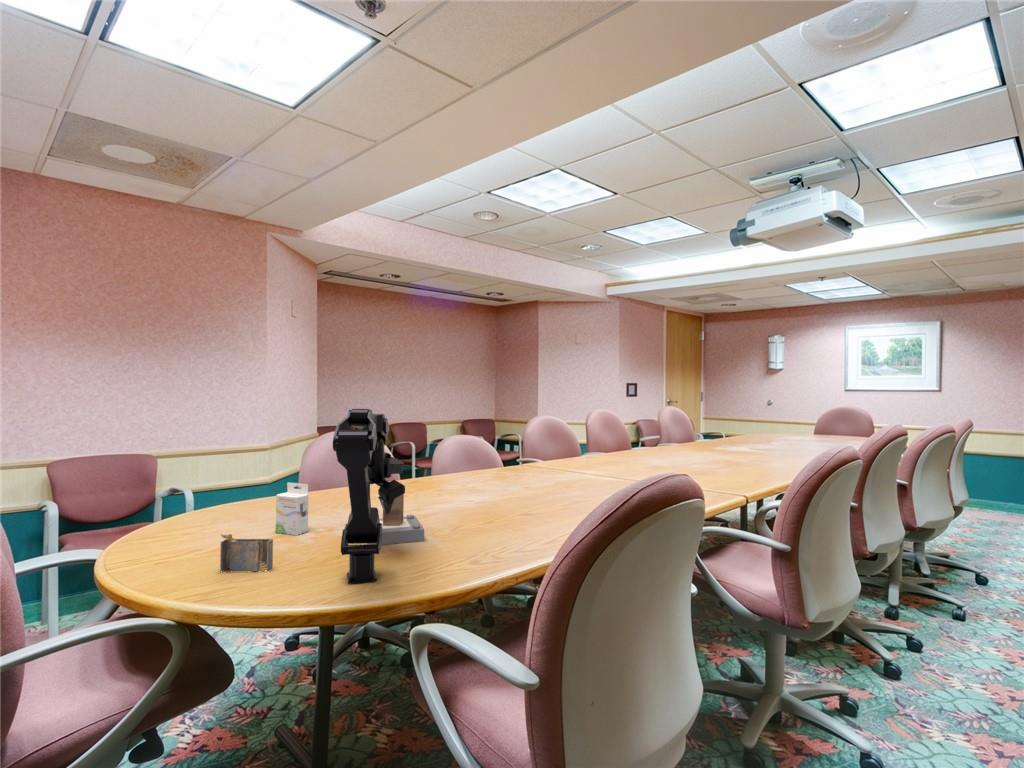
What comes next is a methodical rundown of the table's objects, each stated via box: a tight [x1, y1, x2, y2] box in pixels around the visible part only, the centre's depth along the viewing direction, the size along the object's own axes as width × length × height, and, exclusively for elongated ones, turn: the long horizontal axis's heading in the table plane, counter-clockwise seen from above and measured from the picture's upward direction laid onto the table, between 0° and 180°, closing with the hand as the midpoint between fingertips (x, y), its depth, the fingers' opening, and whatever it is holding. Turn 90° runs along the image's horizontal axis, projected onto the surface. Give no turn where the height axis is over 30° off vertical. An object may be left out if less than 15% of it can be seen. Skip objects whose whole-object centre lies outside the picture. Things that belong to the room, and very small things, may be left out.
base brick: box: [366, 514, 425, 546], centre depth 158 cm, size 16×16×4 cm
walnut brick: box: [382, 493, 405, 526], centre depth 158 cm, size 5×5×10 cm
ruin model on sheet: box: [219, 533, 274, 573], centre depth 128 cm, size 11×3×10 cm, turn 93°
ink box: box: [275, 481, 309, 536], centre depth 161 cm, size 9×5×15 cm, turn 71°
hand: (377, 506), depth 146 cm, fingers open, 9 cm apart
